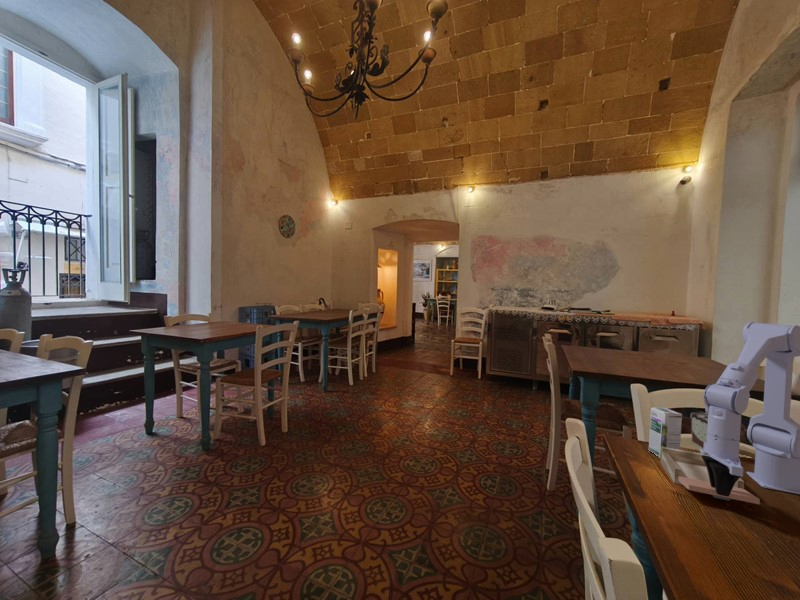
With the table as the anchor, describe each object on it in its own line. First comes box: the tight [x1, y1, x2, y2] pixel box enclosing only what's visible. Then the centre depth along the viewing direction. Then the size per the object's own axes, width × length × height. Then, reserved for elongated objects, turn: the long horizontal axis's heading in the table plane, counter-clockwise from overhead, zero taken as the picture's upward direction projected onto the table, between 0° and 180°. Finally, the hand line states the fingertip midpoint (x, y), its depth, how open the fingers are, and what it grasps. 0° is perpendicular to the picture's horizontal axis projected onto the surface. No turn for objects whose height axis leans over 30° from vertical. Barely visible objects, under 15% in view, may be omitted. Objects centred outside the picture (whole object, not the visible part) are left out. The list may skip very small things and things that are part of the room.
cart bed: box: [660, 447, 745, 489], centre depth 93 cm, size 14×12×5 cm
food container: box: [690, 411, 708, 449], centre depth 112 cm, size 12×6×10 cm, turn 168°
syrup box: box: [648, 406, 683, 459], centre depth 106 cm, size 6×6×14 cm
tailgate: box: [678, 476, 761, 505], centre depth 83 cm, size 13×2×7 cm
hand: (719, 491), depth 82 cm, fingers closed, pressing on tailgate
